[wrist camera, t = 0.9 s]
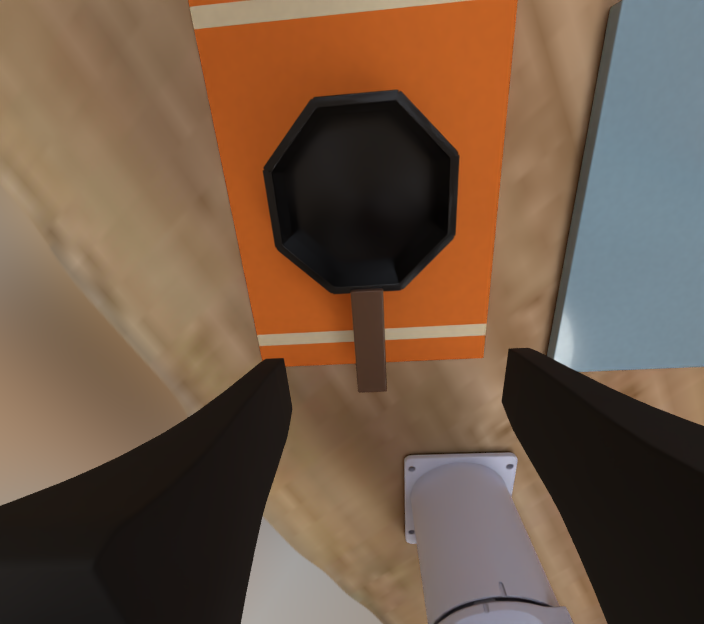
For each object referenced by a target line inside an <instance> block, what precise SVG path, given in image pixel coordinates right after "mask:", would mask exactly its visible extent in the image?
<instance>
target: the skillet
mask: <svg viewBox="0 0 704 624" xmlns="http://www.w3.org/2000/svg"><path fill="white" fill-rule="evenodd" d="M458 153H459V152H458V151H457V150H456V149H455V148H454V147H453V145H452V144H451V143H450V142H449V141H448V140H447V139H446V138H445V137H444V136H443V135H442V134H441V133H440V132H439V131H438V130H437V128H436V127H435V126H434V125H433V124H432V123H431V122H430V121H429V120H428V119H427V118H426V117H425V116H424V115H423V114H422V112H421V111H420V110H419V109H418V108H417V107H416V106H415V105H414V104H413V103H412V102H411V101H410V100H409V99H408V98H407V96H406V95H405V94H404V93H403V92H402V91H399V90H398V89H396V90H385V91H374V92H363V93H352V94H341V95H330V96H319V97H313V99H310V101H309V102H308V103H307V105H306V106H305V108H304V109H303V111H302V112H301V114H300V115H299V116H298V118H297V119H296V121H295V122H294V124H293V125H292V127H291V128H290V129H289V131H288V132H287V134H286V135H285V137H284V138H283V140H282V141H281V142H280V144H279V145H278V147H277V148H276V150H275V151H274V153H273V154H272V155H271V157H270V158H269V160H268V161H267V163H266V164H265V166H264V167H263V169H264V170H263V177H264V183H265V189H266V195H267V201H268V207H269V213H270V220H271V226H272V232H273V238H274V244H275V248H277V250H278V251H279V252H280V253H281V254H283V255H284V256H285V257H286V258H287V259H289V260H290V261H291V262H292V263H294V264H295V265H296V266H297V267H299V268H300V269H301V270H302V271H304V272H305V273H306V274H307V275H308V276H310V277H311V278H312V279H313V280H315V281H316V282H317V283H318V284H320V285H321V286H322V287H323V288H325V289H326V290H327V291H328V292H330V293H333V294H349V293H350V294H351V307H352V320H353V332H354V345H355V358H356V371H357V384H358V392H384V391H387V379H386V352H385V325H384V298H383V292H385V291H401V289H404V288H405V287H406V286H407V285H408V284H409V283H410V282H411V281H412V280H413V279H414V278H415V277H416V276H417V275H418V274H419V273H420V272H421V271H422V270H423V269H424V268H425V267H426V266H427V265H428V264H429V263H430V262H431V261H432V260H433V259H434V258H435V257H436V256H437V255H438V254H439V253H440V252H441V251H442V250H443V249H444V248H445V247H446V246H447V245H448V244H449V243H450V242H451V241H452V240H453V239H454V236H455V235H456V219H457V199H458V179H459V159H460V155H459V154H458Z"/></svg>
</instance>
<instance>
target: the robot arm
mask: <svg viewBox="0 0 704 624" xmlns="http://www.w3.org/2000/svg"><path fill="white" fill-rule="evenodd" d="M502 404H503V406H504V409H505V411H506V414H507V417H508V419H509V421H510V424H511V426H512V429H513V431H514V432H515V434H516V436H517V438H518V440H519V441H520V443H521V445H522V447H523V448H524V450H525V452H526V454H527V455H528V457H529V459H530V461H531V462H532V464H533V466H534V467H535V469H536V471H537V473H538V474H539V476H540V478H541V480H542V481H543V483H544V485H545V486H546V488H547V490H548V492H549V493H550V495H551V497H552V499H553V501H554V503H555V504H556V506H557V508H558V510H559V512H560V514H561V516H562V518H563V521H564V523H565V525H566V527H567V529H568V532H569V534H570V536H571V538H572V540H573V543H574V545H575V547H576V549H577V551H578V554H579V556H580V558H581V561H582V563H583V565H584V568H585V570H586V572H587V575H588V577H589V579H590V582H591V584H592V586H593V589H594V591H595V593H596V596H597V598H598V601H599V603H600V606H601V608H602V611H603V613H604V616H605V618H606V621H607V623H608V624H704V426H702V425H699V424H697V423H694V422H691V421H688V420H686V419H683V418H680V417H678V416H675V415H673V414H670V413H668V412H665V411H662V410H660V409H657V408H655V407H652V406H650V405H647V404H645V403H643V402H640V401H638V400H636V399H633V398H631V397H629V396H627V395H625V394H623V393H620V392H618V391H616V390H614V389H612V388H609V387H607V386H605V385H603V384H601V383H599V382H597V381H595V380H593V379H591V378H589V377H587V376H585V375H583V374H581V373H579V372H577V371H575V370H573V369H571V368H569V367H567V366H566V365H564V364H562V363H560V362H558V361H556V360H554V359H552V358H550V357H548V356H546V355H544V354H542V353H540V352H538V351H535V350H533V349H530V348H513V349H509V351H508V358H507V366H506V373H505V381H504V388H503V396H502ZM291 414H292V403H291V397H290V391H289V385H288V379H287V373H286V367H285V362H284V358H271V359H265V360H263V361H262V362H260V363H259V364H258V365H257V366H255V367H254V368H253V369H252V370H250V371H249V372H248V373H247V374H245V375H244V376H243V377H242V378H241V379H239V380H238V381H237V382H236V383H234V384H233V385H232V386H231V387H229V388H228V389H227V390H226V391H224V392H223V393H222V394H220V395H219V396H218V397H216V398H215V399H214V400H212V401H211V402H209V403H208V404H207V405H205V406H204V407H203V408H201V409H200V410H199V411H197V412H196V413H194V414H193V415H191V416H190V417H188V418H187V419H185V420H184V421H182V422H180V423H179V424H177V425H176V426H174V427H172V428H171V429H169V430H167V431H166V432H164V433H162V434H161V435H159V436H157V437H155V438H153V439H151V440H150V441H148V442H146V443H144V444H142V445H140V446H138V447H137V448H135V449H133V450H131V451H129V452H127V453H125V454H123V455H121V456H119V457H118V458H115V459H113V460H111V461H109V462H107V463H104V464H102V465H101V466H98V467H96V468H94V469H91V470H89V471H87V472H85V473H82V474H80V475H78V476H76V477H74V478H71V479H68V480H66V481H64V482H61V483H59V484H56V485H54V486H51V487H49V488H46V489H43V490H41V491H38V492H35V493H33V494H30V495H28V496H25V497H23V498H20V499H17V500H15V501H12V502H10V503H7V504H4V505H2V506H0V624H241V619H242V613H243V607H244V602H245V596H246V592H247V587H248V582H249V576H250V571H251V566H252V562H253V557H254V551H255V547H256V543H257V538H258V533H259V529H260V525H261V520H262V516H263V512H264V509H265V505H266V502H267V498H268V495H269V492H270V489H271V486H272V483H273V480H274V477H275V474H276V471H277V468H278V465H279V461H280V458H281V455H282V452H283V449H284V446H285V443H286V439H287V436H288V431H289V426H290V420H291ZM508 464H509V465H508ZM411 466H412V467H411ZM516 467H517V457H516V455H515V454H514V453H510V452H504V453H468V454H432V455H409V456H407V457H406V458H405V459H404V482H405V538H406V541H407V542H408V543H411V544H417V549H418V556H419V563H420V570H421V577H422V584H423V592H424V599H425V606H426V613H427V620H428V624H574V623H573V621H572V619H571V617H570V614H569V612H568V610H567V608H566V607H565V606H559V603H558V601H557V599H556V597H555V594H554V592H553V590H552V588H551V585H550V583H549V581H548V579H547V576H546V574H545V572H544V570H543V567H542V565H541V563H540V561H539V558H538V556H537V554H536V552H535V549H534V547H533V545H532V543H531V540H530V538H529V536H528V534H527V531H526V529H525V527H524V525H523V522H522V520H521V518H520V516H519V513H518V511H517V509H516V507H515V504H514V502H513V500H512V498H511V497H512V491H513V485H514V479H515V473H516Z"/></svg>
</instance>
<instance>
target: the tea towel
mask: <svg viewBox="0 0 704 624" xmlns="http://www.w3.org/2000/svg"><path fill="white" fill-rule="evenodd" d="M188 2H189V7H190V12H191V17H192V22H193V27H194V31H195V36H196V41H197V46H198V50H199V55H200V60H201V65H202V70H203V75H204V80H205V84H206V89H207V94H208V99H209V104H210V109H211V114H212V118H213V123H214V128H215V133H216V138H217V143H218V148H219V152H220V157H221V162H222V167H223V172H224V177H225V182H226V186H227V191H228V196H229V201H230V206H231V211H232V216H233V220H234V225H235V230H236V235H237V240H238V245H239V250H240V254H241V259H242V264H243V269H244V274H245V279H246V284H247V289H248V293H249V298H250V303H251V308H252V313H253V318H254V323H255V327H256V332H257V338H258V342H259V347H260V352H261V357H262V361H263V360H265V359H271V358H284V362H285V367H287V366H309V365H332V364H355V363H356V358H355V345H354V332H353V320H352V307H351V294H350V293H349V294H333V293H330V292H328V291H327V290H326V289H325V288H323V287H322V286H321V285H320V284H318V283H317V282H316V281H315V280H313V279H312V278H311V277H310V276H308V275H307V274H306V273H305V272H304V271H302V270H301V269H300V268H299V267H297V266H296V265H295V264H294V263H292V262H291V261H290V260H289V259H287V258H286V257H285V256H284V255H283V254H281V253H280V252H279V251H278V250H277V248H275V244H274V238H273V232H272V226H271V220H270V213H269V207H268V201H267V195H266V189H265V183H264V177H263V170H264V169H263V167H264V166H265V164H266V163H267V161H268V160H269V158H270V157H271V155H272V154H273V153H274V151H275V150H276V148H277V147H278V145H279V144H280V142H281V141H282V140H283V138H284V137H285V135H286V134H287V132H288V131H289V129H290V128H291V127H292V125H293V124H294V122H295V121H296V119H297V118H298V116H299V115H300V114H301V112H302V111H303V109H304V108H305V106H306V105H307V103H308V102H309V101H310V99H313V97H319V96H330V95H341V94H352V93H363V92H374V91H385V90H396V89H398V90H399V91H402V92H403V93H404V94H405V95H406V96H407V98H408V99H409V100H410V101H411V102H412V103H413V104H414V105H415V106H416V107H417V108H418V109H419V110H420V111H421V112H422V114H423V115H424V116H425V117H426V118H427V119H428V120H429V121H430V122H431V123H432V124H433V125H434V126H435V127H436V128H437V130H438V131H439V132H440V133H441V134H442V135H443V136H444V137H445V138H446V139H447V140H448V141H449V142H450V143H451V144H452V145H453V147H454V148H455V149H456V150H457V151H458V152H459V153H458V154H459V155H460V159H459V179H458V199H457V219H456V235H455V236H454V239H453V240H452V241H451V242H450V243H449V244H448V245H447V246H446V247H445V248H444V249H443V250H442V251H441V252H440V253H439V254H438V255H437V256H436V257H435V258H434V259H433V260H432V261H431V262H430V263H429V264H428V265H427V266H426V267H425V268H424V269H423V270H422V271H421V272H420V273H419V274H418V275H417V276H416V277H415V278H414V279H413V280H412V281H411V282H410V283H409V284H408V285H407V286H406V287H405V288H404V289H401V291H385V292H383V298H384V325H385V352H386V362H400V361H423V360H446V359H469V358H483V354H484V344H485V335H486V323H487V313H488V302H489V292H490V281H491V271H492V261H493V250H494V240H495V229H496V219H497V209H498V198H499V188H500V177H501V167H502V157H503V146H504V136H505V125H506V115H507V105H508V94H509V84H510V73H511V63H512V52H513V42H514V32H515V21H516V11H517V0H188Z"/></svg>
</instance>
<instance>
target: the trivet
mask: <svg viewBox="0 0 704 624" xmlns="http://www.w3.org/2000/svg"><path fill="white" fill-rule="evenodd" d="M547 356H548V357H550V358H552V359H554V360H556V361H558V362H560V363H562V364H564V365H566V366H567V367H569V368H571V369H573V370H575V371H577V372H587V371H611V370H636V369H660V368H684V367H704V0H621V1H620V2H618V3H616V4H615V5H613V6H612V7H611V8H610V12H609V17H608V23H607V28H606V34H605V39H604V45H603V50H602V56H601V61H600V67H599V72H598V78H597V83H596V89H595V94H594V100H593V105H592V111H591V116H590V122H589V127H588V133H587V138H586V144H585V149H584V155H583V160H582V166H581V171H580V176H579V182H578V187H577V193H576V198H575V204H574V209H573V215H572V220H571V226H570V231H569V237H568V242H567V248H566V253H565V259H564V264H563V270H562V275H561V281H560V286H559V292H558V297H557V303H556V308H555V314H554V319H553V325H552V330H551V336H550V341H549V347H548V352H547Z"/></svg>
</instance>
